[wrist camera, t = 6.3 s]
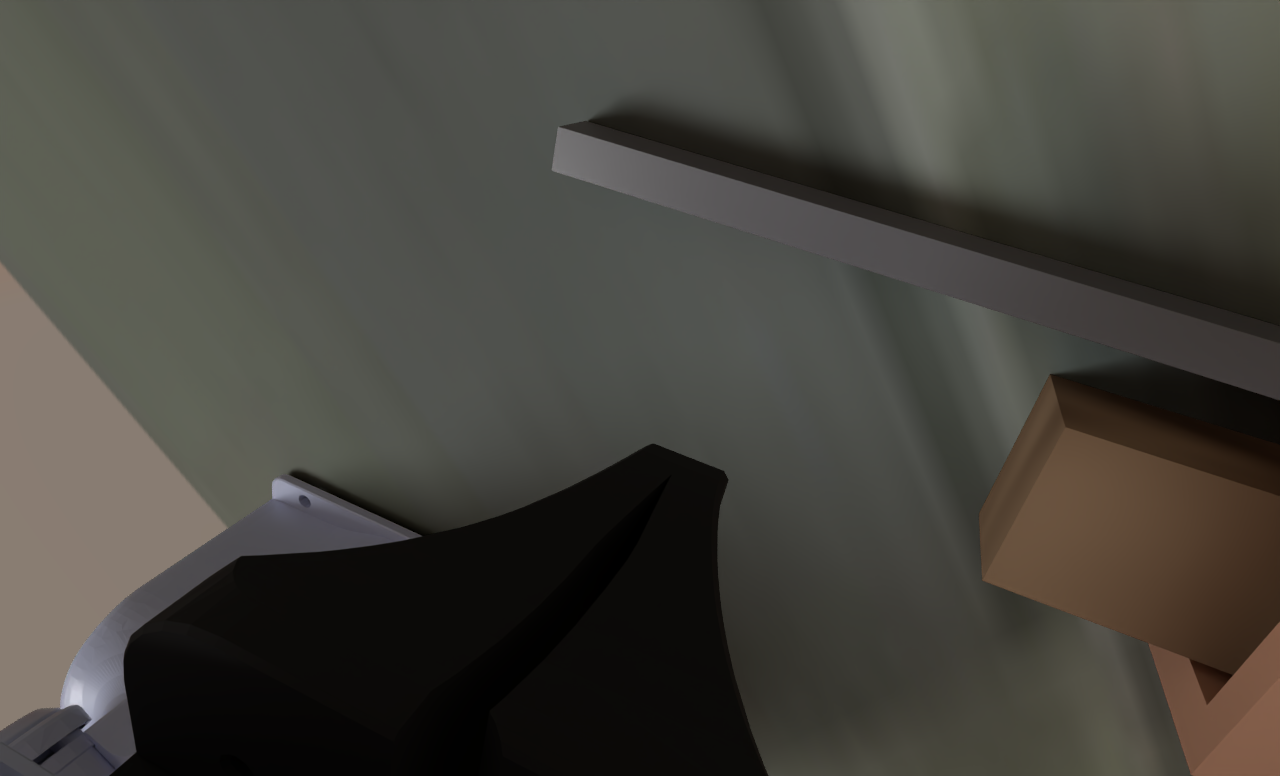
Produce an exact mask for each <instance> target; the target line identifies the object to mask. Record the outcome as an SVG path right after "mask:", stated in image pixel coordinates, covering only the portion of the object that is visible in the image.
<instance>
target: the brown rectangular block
mask: <svg viewBox="0 0 1280 776" xmlns="http://www.w3.org/2000/svg"><path fill="white" fill-rule="evenodd" d="M979 527H980V546H981V565H982V581H985V582H987V583H990V584H993V585H995V586H998V587H1001V588H1003V589H1006V590H1009V591H1011V592H1014V593H1017V594H1019V595H1022V596H1025V597H1027V598H1030V599H1033V600H1035V601H1038V602H1041V603H1043V604H1046V605H1049V606H1051V607H1054V608H1056V609H1059V610H1062V611H1064V612H1067V613H1070V614H1072V615H1075V616H1078V617H1080V618H1083V619H1086V620H1088V621H1091V622H1094V623H1096V624H1099V625H1102V626H1104V627H1107V628H1110V629H1112V630H1115V631H1118V632H1120V633H1123V634H1125V635H1128V636H1131V637H1133V638H1136V639H1139V640H1141V641H1144V642H1147V643H1149V644H1152V645H1155V646H1157V647H1160V648H1163V649H1165V650H1168V651H1171V652H1173V653H1176V654H1179V655H1181V656H1184V657H1187V658H1189V659H1192V660H1195V661H1197V662H1200V663H1202V664H1205V665H1208V666H1210V667H1213V668H1216V669H1218V670H1221V671H1224V672H1226V673H1229V674H1232V675H1234V674H1235V673H1236V671H1237V670H1238V669H1239V668H1240V667H1241V666H1242V665H1243V663H1244V662H1245V661H1246V660H1247V659H1248V658H1249V656H1250V655H1251V654H1252V653H1253V652H1254V651H1255V650H1256V648H1257V647H1258V646H1259V645H1260V644H1261V643H1262V641H1263V640H1264V639H1265V638H1266V637H1267V636H1268V635H1269V633H1270V632H1271V631H1272V630H1273V629H1274V628H1275V626H1276V625H1277V624H1278V623H1279V622H1280V445H1279V444H1276V443H1272V442H1269V441H1266V440H1263V439H1259V438H1256V437H1253V436H1250V435H1246V434H1243V433H1240V432H1237V431H1233V430H1230V429H1227V428H1224V427H1220V426H1217V425H1214V424H1211V423H1207V422H1204V421H1201V420H1198V419H1194V418H1191V417H1188V416H1185V415H1181V414H1178V413H1175V412H1172V411H1168V410H1165V409H1162V408H1159V407H1155V406H1152V405H1149V404H1146V403H1142V402H1139V401H1136V400H1133V399H1129V398H1126V397H1123V396H1120V395H1116V394H1113V393H1110V392H1107V391H1103V390H1100V389H1097V388H1094V387H1090V386H1087V385H1084V384H1081V383H1077V382H1074V381H1071V380H1068V379H1064V378H1061V377H1058V376H1055V375H1051V374H1050V375H1049V377H1048V379H1047V381H1046V383H1045V385H1044V387H1043V389H1042V391H1041V393H1040V395H1039V397H1038V399H1037V401H1036V403H1035V405H1034V407H1033V409H1032V411H1031V413H1030V415H1029V417H1028V418H1027V420H1026V422H1025V424H1024V426H1023V428H1022V430H1021V432H1020V434H1019V436H1018V438H1017V440H1016V442H1015V444H1014V446H1013V448H1012V450H1011V452H1010V454H1009V456H1008V458H1007V460H1006V462H1005V464H1004V466H1003V468H1002V470H1001V471H1000V473H999V475H998V477H997V479H996V481H995V483H994V485H993V487H992V489H991V491H990V493H989V495H988V497H987V499H986V501H985V503H984V505H983V507H982V509H981V511H980V513H979Z"/></svg>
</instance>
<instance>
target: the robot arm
mask: <svg viewBox="0 0 1280 776" xmlns="http://www.w3.org/2000/svg"><path fill="white" fill-rule="evenodd" d="M727 483H728V478H727V476H726V474H725V472H724V471H722V470H720V469H717V468H715V467H712V466H710V465H707V464H704V463H702V462H699V461H697V460H694V459H692V458H689V457H687V456H684V455H681V454H679V453H676V452H674V451H671V450H669V449H666V448H664V447H661V446H658V445H656V444H650V445H648V446H646V447H644V448H642V449H640V450H638V451H637V452H635V453H633V454H631V455H630V456H628V457H626V458H624V459H622V460H621V461H619V462H617V463H615V464H613V465H612V466H610V467H608V468H606V469H604V470H602V471H600V472H599V473H597V474H595V475H593V476H591V477H589V478H587V479H585V480H583V481H581V482H579V483H577V484H575V485H573V486H571V487H569V488H566V489H564V490H562V491H560V492H558V493H555V494H553V495H551V496H548V497H546V498H544V499H541V500H539V501H537V502H534V503H532V504H530V505H527V506H525V507H522V508H520V509H517V510H515V511H512V512H509V513H506V514H504V515H501V516H498V517H495V518H491V519H488V520H485V521H482V522H478V523H475V524H472V525H468V526H465V527H461V528H457V529H452V530H448V531H443V532H439V533H434V534H430V535H426V536H421V535H419V534H417V533H415V532H413V531H410V530H408V529H406V528H404V527H402V526H399V525H397V524H395V523H393V522H391V521H389V520H386V519H384V518H382V517H380V516H378V515H375V514H373V513H371V512H369V511H367V510H364V509H362V508H360V507H358V506H356V505H354V504H351V503H349V502H347V501H345V500H343V499H340V498H338V497H336V496H334V495H332V494H329V493H327V492H325V491H323V490H321V489H319V488H316V487H314V486H312V485H310V484H308V483H305V482H303V481H301V480H299V479H297V478H294V477H292V476H290V475H287V474H283V475H280V476H279V477H277V478H276V479H274V481H273V483H272V498H273V499H271V500H270V501H268V502H267V503H265V504H264V505H262V506H261V507H259V508H258V509H256V510H255V511H253V512H252V513H250V514H249V515H247V516H246V517H244V518H243V519H241V520H240V521H238V522H237V523H235V524H234V525H232V526H231V527H229V528H228V529H226V530H225V531H223V532H222V533H220V534H219V535H218V536H216V537H215V538H213V539H211V540H210V541H208V542H207V543H205V544H204V545H202V546H201V547H199V548H198V549H197V550H195V551H194V552H192V553H190V554H189V555H188V556H186V557H184V558H183V559H182V560H180V561H179V562H177V563H176V564H174V565H173V566H171V567H170V568H168V569H167V570H165V571H164V572H162V573H161V574H159V575H158V576H156V577H155V578H153V579H152V580H150V581H149V582H147V583H146V584H145V585H143V586H141V587H140V588H138V589H137V590H136V591H134V592H133V593H132V594H130V595H129V596H128V597H127V598H125V599H124V600H123V601H122V602H121V603H120V604H119V605H117V606H116V607H115V608H114V609H113V610H112V611H111V612H110V613H109V614H108V615H107V616H106V617H105V618H104V620H103V621H102V622H101V623H100V624H99V625H98V626H97V627H96V629H95V630H94V631H93V632H92V634H91V635H90V636H89V637H88V639H87V640H86V642H85V643H84V644H83V646H82V647H81V649H80V650H79V652H78V653H77V655H76V656H75V658H74V660H73V662H72V664H71V666H70V668H69V671H68V673H67V676H66V679H65V682H64V686H63V690H62V695H61V702H60V708H44V709H43V708H42V709H37V710H35V711H33V712H31V713H29V714H27V715H25V716H24V717H22V718H20V719H18V720H17V721H15V722H14V723H12V724H10V725H9V726H7V727H6V728H4V729H3V730H1V731H0V776H768V774H767V771H766V769H765V767H764V764H763V761H762V759H761V756H760V753H759V751H758V748H757V745H756V743H755V740H754V737H753V735H752V732H751V729H750V726H749V723H748V719H747V716H746V713H745V709H744V706H743V703H742V699H741V696H740V693H739V689H738V686H737V683H736V680H735V676H734V672H733V668H732V663H731V659H730V654H729V650H728V646H727V640H726V635H725V629H724V623H723V617H722V610H721V602H720V592H719V580H718V563H717V532H718V518H719V510H720V504H721V501H722V498H723V495H724V492H725V489H726V486H727Z"/></svg>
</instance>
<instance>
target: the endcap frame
mask: <svg viewBox="0 0 1280 776" xmlns="http://www.w3.org/2000/svg"><path fill="white" fill-rule="evenodd" d="M552 171H555V172H558V173H561V174H564V175H567V176H570V177H574V178H577V179H580V180H583V181H586V182H589V183H593V184H596V185H599V186H602V187H605V188H608V189H612V190H615V191H618V192H621V193H624V194H627V195H631V196H634V197H637V198H640V199H643V200H646V201H650V202H653V203H656V204H659V205H662V206H666V207H669V208H672V209H675V210H678V211H681V212H685V213H688V214H691V215H694V216H697V217H700V218H704V219H707V220H710V221H713V222H716V223H719V224H723V225H726V226H729V227H732V228H735V229H738V230H742V231H745V232H748V233H751V234H754V235H757V236H761V237H764V238H767V239H770V240H773V241H776V242H780V243H783V244H786V245H789V246H792V247H795V248H799V249H802V250H805V251H808V252H811V253H814V254H818V255H821V256H824V257H827V258H830V259H833V260H837V261H840V262H843V263H846V264H849V265H852V266H856V267H859V268H862V269H865V270H868V271H871V272H875V273H878V274H881V275H884V276H887V277H891V278H894V279H897V280H900V281H903V282H906V283H910V284H913V285H916V286H919V287H922V288H925V289H929V290H932V291H935V292H938V293H941V294H944V295H948V296H951V297H954V298H957V299H960V300H963V301H967V302H970V303H973V304H976V305H979V306H982V307H986V308H989V309H992V310H995V311H998V312H1001V313H1005V314H1008V315H1011V316H1014V317H1017V318H1020V319H1024V320H1027V321H1030V322H1033V323H1036V324H1039V325H1043V326H1046V327H1049V328H1052V329H1055V330H1058V331H1062V332H1065V333H1068V334H1071V335H1074V336H1077V337H1081V338H1084V339H1087V340H1090V341H1093V342H1096V343H1100V344H1103V345H1106V346H1109V347H1112V348H1116V349H1119V350H1122V351H1125V352H1128V353H1131V354H1135V355H1138V356H1141V357H1144V358H1147V359H1150V360H1154V361H1157V362H1160V363H1163V364H1166V365H1169V366H1173V367H1176V368H1179V369H1182V370H1185V371H1188V372H1192V373H1195V374H1198V375H1201V376H1204V377H1207V378H1211V379H1214V380H1217V381H1220V382H1223V383H1226V384H1230V385H1233V386H1236V387H1239V388H1242V389H1245V390H1249V391H1252V392H1255V393H1258V394H1261V395H1264V396H1268V397H1271V398H1274V399H1277V400H1280V326H1278V325H1274V324H1271V323H1268V322H1264V321H1261V320H1257V319H1254V318H1251V317H1247V316H1244V315H1241V314H1237V313H1234V312H1230V311H1227V310H1224V309H1220V308H1217V307H1214V306H1210V305H1207V304H1203V303H1200V302H1197V301H1193V300H1190V299H1186V298H1183V297H1180V296H1176V295H1173V294H1170V293H1166V292H1163V291H1159V290H1156V289H1153V288H1149V287H1146V286H1142V285H1139V284H1136V283H1132V282H1129V281H1126V280H1122V279H1119V278H1115V277H1112V276H1109V275H1105V274H1102V273H1099V272H1095V271H1092V270H1088V269H1085V268H1082V267H1078V266H1075V265H1071V264H1068V263H1065V262H1061V261H1058V260H1055V259H1051V258H1048V257H1044V256H1041V255H1038V254H1034V253H1031V252H1027V251H1024V250H1021V249H1017V248H1014V247H1011V246H1007V245H1004V244H1000V243H997V242H994V241H990V240H987V239H984V238H980V237H977V236H973V235H970V234H967V233H963V232H960V231H956V230H953V229H950V228H946V227H943V226H940V225H936V224H933V223H929V222H926V221H923V220H919V219H916V218H912V217H909V216H906V215H902V214H899V213H896V212H892V211H889V210H885V209H882V208H879V207H875V206H872V205H869V204H865V203H862V202H858V201H855V200H852V199H848V198H845V197H841V196H838V195H835V194H831V193H828V192H825V191H821V190H818V189H814V188H811V187H808V186H804V185H801V184H797V183H794V182H791V181H787V180H784V179H781V178H777V177H774V176H770V175H767V174H764V173H760V172H757V171H754V170H750V169H747V168H743V167H740V166H737V165H733V164H730V163H726V162H723V161H720V160H716V159H713V158H710V157H706V156H703V155H699V154H696V153H693V152H689V151H686V150H682V149H679V148H676V147H672V146H669V145H666V144H662V143H659V142H655V141H652V140H649V139H645V138H642V137H639V136H635V135H632V134H628V133H625V132H622V131H618V130H615V129H611V128H608V127H605V126H601V125H598V124H595V123H591V122H588V121H583V122H578V123H574V124H569V125H564V126H559V127H558V132H557V138H556V145H555V152H554V158H553V165H552ZM1148 644H1149V643H1148ZM1149 647H1150V650H1151V653H1152V656H1153V659H1154V662H1155V665H1156V668H1157V671H1158V675H1159V678H1160V681H1161V684H1162V687H1163V690H1164V693H1165V696H1166V699H1167V702H1168V705H1169V708H1170V711H1171V715H1172V718H1173V721H1174V724H1175V727H1176V730H1177V733H1178V736H1179V739H1180V742H1181V745H1182V748H1183V751H1184V754H1185V758H1186V761H1187V764H1188V767H1189V770H1190V773H1191V775H1193V776H1280V622H1279V623H1278V624H1277V625H1276V626H1275V628H1274V629H1273V630H1272V631H1271V632H1270V633H1269V635H1268V636H1267V637H1266V638H1265V639H1264V640H1263V641H1262V643H1261V644H1260V645H1259V646H1258V647H1257V648H1256V650H1255V651H1254V652H1253V653H1252V654H1251V655H1250V656H1249V658H1248V659H1247V660H1246V661H1245V662H1244V663H1243V665H1242V666H1241V667H1240V668H1239V669H1238V670H1237V671H1236V673H1235V674H1234V675H1232V674H1229V673H1226V672H1224V671H1221V670H1218V669H1216V668H1213V667H1210V666H1208V665H1205V664H1202V663H1200V662H1197V661H1195V660H1192V659H1189V658H1187V657H1184V656H1181V655H1179V654H1176V653H1173V652H1171V651H1168V650H1165V649H1163V648H1160V647H1157V646H1155V645H1152V644H1149Z"/></svg>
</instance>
